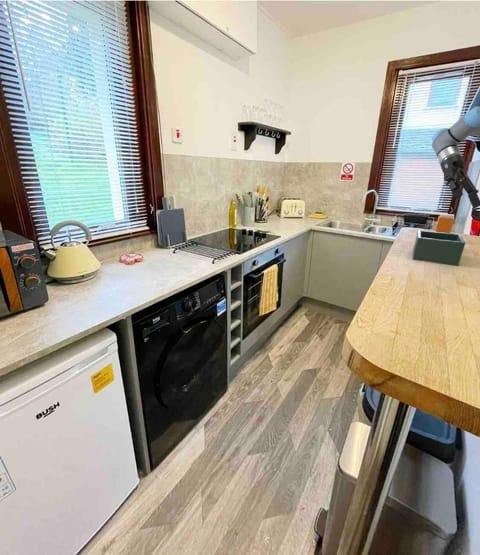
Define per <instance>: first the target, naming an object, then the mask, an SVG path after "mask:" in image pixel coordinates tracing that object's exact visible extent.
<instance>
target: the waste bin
mask: <svg viewBox="0 0 480 555" xmlns="http://www.w3.org/2000/svg"><path fill="white" fill-rule="evenodd" d="M414 241H415V242H414V245H413V248H412V260H415V261H421V262H427V263H429V262H430V263H435V264H443V265H449V266H457V267H458V266H459V264H460V261H461V258H462V255H463V252H464V250H465V246H466V241H465V240H464V237H463V236H462V234H460V233H451V232H450V233H441V232H435V231H430V230H420V229H418V230H417V233H416V236H415V240H414Z"/></svg>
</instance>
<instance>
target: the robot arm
mask: <svg viewBox="0 0 480 555" xmlns="http://www.w3.org/2000/svg"><path fill="white" fill-rule="evenodd" d="M470 136H473V137H480V106H474V107H473V108H472V109H470V110H469V111H468V112H466V113H465V114H464V115H463V116H461V118H460V119H458V120H457V121H456V122H455V123H454V124H453V125H451V126H450V127H449V128H447V127H444V128H441V129H440V130H437V131H436V132H434V133H433V134H432V136H431V138H430V142H431V147H432V149H433V151H434V153H435V156H436V158H437V160H438V161H437V164H438V165H440V168H441V171H442V173H443V181H444V182H445V183H444V184H445V185H446V186H449V188H450V191H451V193H452V196H453V199H455V200H457V199H458V198H460V197H462V196H464V192H463V190H462V189H461V187H462V188H463V189H464V191H465V192H466V193H467V197H468V200H469V202H470V204H471V207H472V208H473V210H475V209H476V208H479V207H480V197H479V195H478V193H479V192H480V190H479V189H477V187H476V186H475V184H474V182H473V181H472V180H471V178H470V177H469V175H468V173H467V172H465V170H464V169H463V168H464V166H465V164H466V162H465V159H464V157H463V155H462V153H461V151H460V148H459V146H458V145H459V144H460V143H462V142H464V140H466V139H467V138H468V137H470Z"/></svg>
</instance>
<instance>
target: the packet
mask: <svg viewBox="0 0 480 555" xmlns="http://www.w3.org/2000/svg"><path fill="white" fill-rule="evenodd" d="M436 221H437V222H436V225H435V228H434V232H441V233H451V232H452V228H453V226H454V222H455V214H452V213H451V214H449V213H440V214H439V216H438V218H437V220H436Z"/></svg>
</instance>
